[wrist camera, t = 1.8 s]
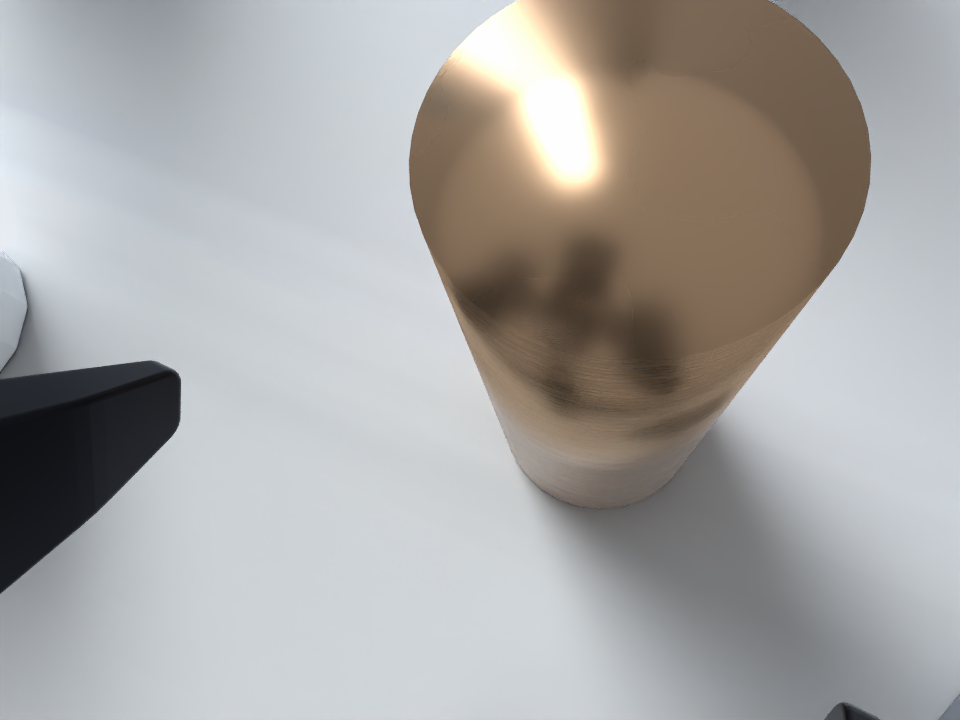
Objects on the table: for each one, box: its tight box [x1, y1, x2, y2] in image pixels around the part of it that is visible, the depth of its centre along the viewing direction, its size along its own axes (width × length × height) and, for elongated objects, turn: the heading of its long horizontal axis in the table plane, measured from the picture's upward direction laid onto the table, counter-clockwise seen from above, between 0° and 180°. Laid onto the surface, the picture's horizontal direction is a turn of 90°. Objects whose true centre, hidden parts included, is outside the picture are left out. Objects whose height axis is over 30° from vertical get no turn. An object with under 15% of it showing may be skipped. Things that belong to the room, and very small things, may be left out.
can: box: [409, 0, 871, 509], centre depth 15 cm, size 5×5×13 cm
